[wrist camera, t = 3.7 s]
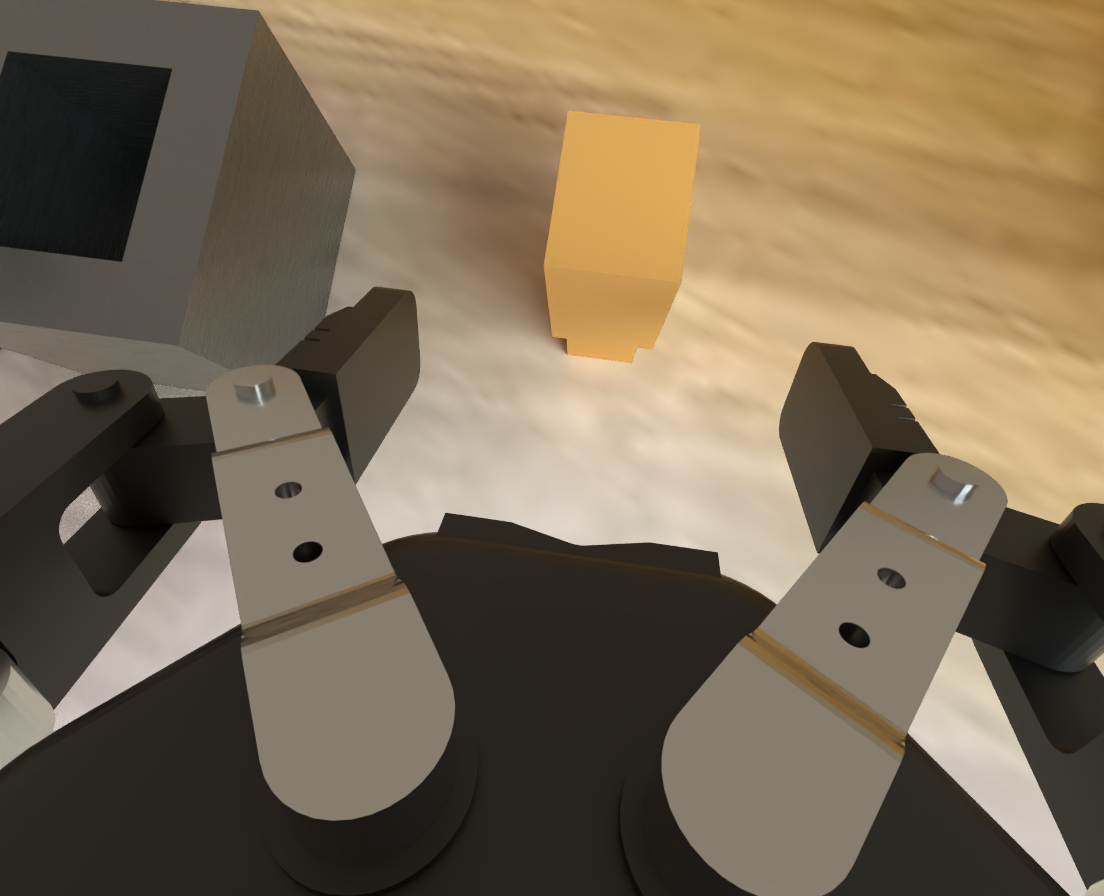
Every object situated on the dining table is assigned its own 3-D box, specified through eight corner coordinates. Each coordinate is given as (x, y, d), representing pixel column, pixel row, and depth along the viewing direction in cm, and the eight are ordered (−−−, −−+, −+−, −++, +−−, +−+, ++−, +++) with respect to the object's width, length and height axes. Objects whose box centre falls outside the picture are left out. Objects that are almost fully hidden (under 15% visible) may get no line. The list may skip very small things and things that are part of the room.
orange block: (654, 272, 22) (700, 124, 14) (641, 374, 21) (681, 282, 13) (570, 262, 22) (568, 110, 14) (555, 363, 21) (543, 265, 13)
